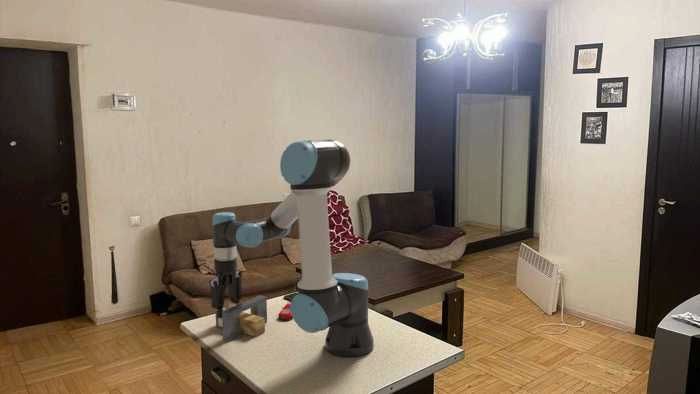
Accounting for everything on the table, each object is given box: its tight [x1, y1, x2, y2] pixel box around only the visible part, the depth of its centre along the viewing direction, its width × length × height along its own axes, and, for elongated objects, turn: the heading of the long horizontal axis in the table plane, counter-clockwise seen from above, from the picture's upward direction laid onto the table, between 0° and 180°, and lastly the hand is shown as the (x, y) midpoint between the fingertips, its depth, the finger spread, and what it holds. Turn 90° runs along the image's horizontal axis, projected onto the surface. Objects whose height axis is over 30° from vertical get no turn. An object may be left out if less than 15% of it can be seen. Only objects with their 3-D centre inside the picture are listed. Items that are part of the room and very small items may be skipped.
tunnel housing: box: [222, 294, 268, 342], centre depth 175 cm, size 3×18×10 cm, turn 149°
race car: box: [277, 301, 294, 321], centre depth 190 cm, size 13×5×4 cm, turn 162°
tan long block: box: [215, 307, 266, 338], centre depth 176 cm, size 18×5×5 cm, turn 59°
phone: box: [283, 291, 298, 302], centre depth 205 cm, size 8×1×15 cm
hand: (227, 323), depth 179 cm, fingers closed on tan long block, 5 cm apart
